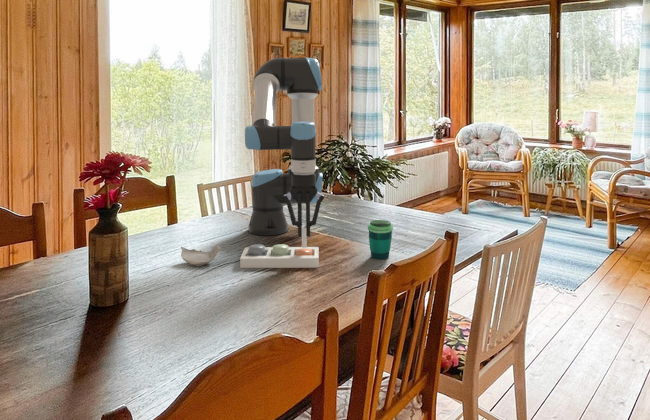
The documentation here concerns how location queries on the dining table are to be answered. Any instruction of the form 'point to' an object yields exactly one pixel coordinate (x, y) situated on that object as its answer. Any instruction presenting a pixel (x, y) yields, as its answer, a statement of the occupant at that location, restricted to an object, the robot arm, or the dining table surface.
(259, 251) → the button slate
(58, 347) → the dining table surface
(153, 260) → the dining table surface
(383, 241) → the cup
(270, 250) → the panel
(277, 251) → the button sage
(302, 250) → the button terracotta
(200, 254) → the pottery shard
